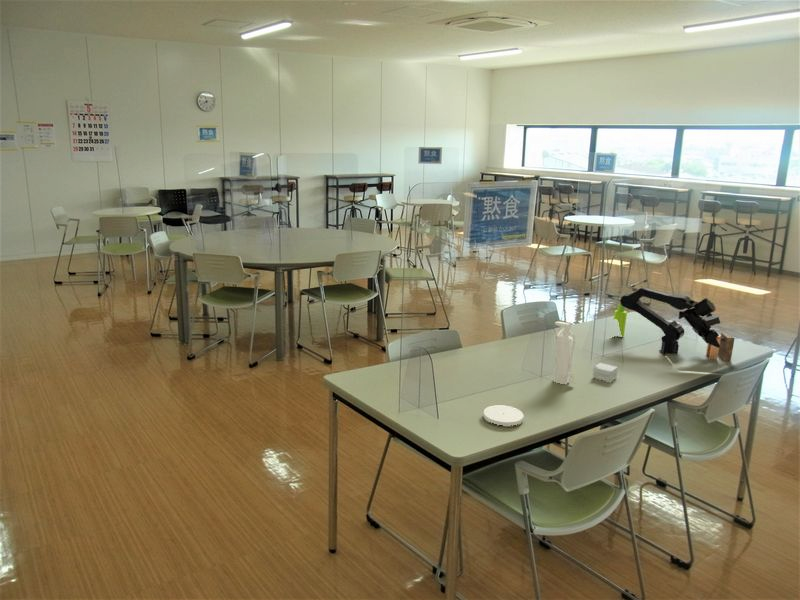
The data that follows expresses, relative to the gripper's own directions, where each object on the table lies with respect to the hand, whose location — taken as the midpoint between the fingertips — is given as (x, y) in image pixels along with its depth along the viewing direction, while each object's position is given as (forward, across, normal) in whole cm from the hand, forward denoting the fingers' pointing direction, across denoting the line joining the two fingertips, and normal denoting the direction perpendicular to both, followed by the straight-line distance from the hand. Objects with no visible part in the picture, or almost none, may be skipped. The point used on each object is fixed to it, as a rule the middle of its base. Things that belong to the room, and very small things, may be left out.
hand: (716, 344), depth 285 cm
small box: (-34, -34, +44) cm, 65 cm away
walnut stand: (+6, 0, +4) cm, 7 cm away
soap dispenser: (-21, +27, +32) cm, 47 cm away
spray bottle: (-47, -43, +57) cm, 85 cm away
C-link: (+3, 0, +5) cm, 6 cm away
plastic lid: (-64, -83, +75) cm, 128 cm away
